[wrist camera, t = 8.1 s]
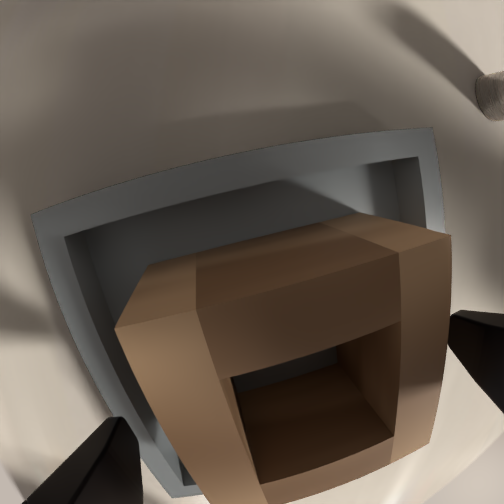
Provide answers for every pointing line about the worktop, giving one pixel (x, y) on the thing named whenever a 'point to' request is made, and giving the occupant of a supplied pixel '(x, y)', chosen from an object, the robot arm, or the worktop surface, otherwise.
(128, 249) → the tray
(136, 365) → the brown square socket block
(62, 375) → the worktop surface
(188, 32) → the worktop surface
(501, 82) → the post
